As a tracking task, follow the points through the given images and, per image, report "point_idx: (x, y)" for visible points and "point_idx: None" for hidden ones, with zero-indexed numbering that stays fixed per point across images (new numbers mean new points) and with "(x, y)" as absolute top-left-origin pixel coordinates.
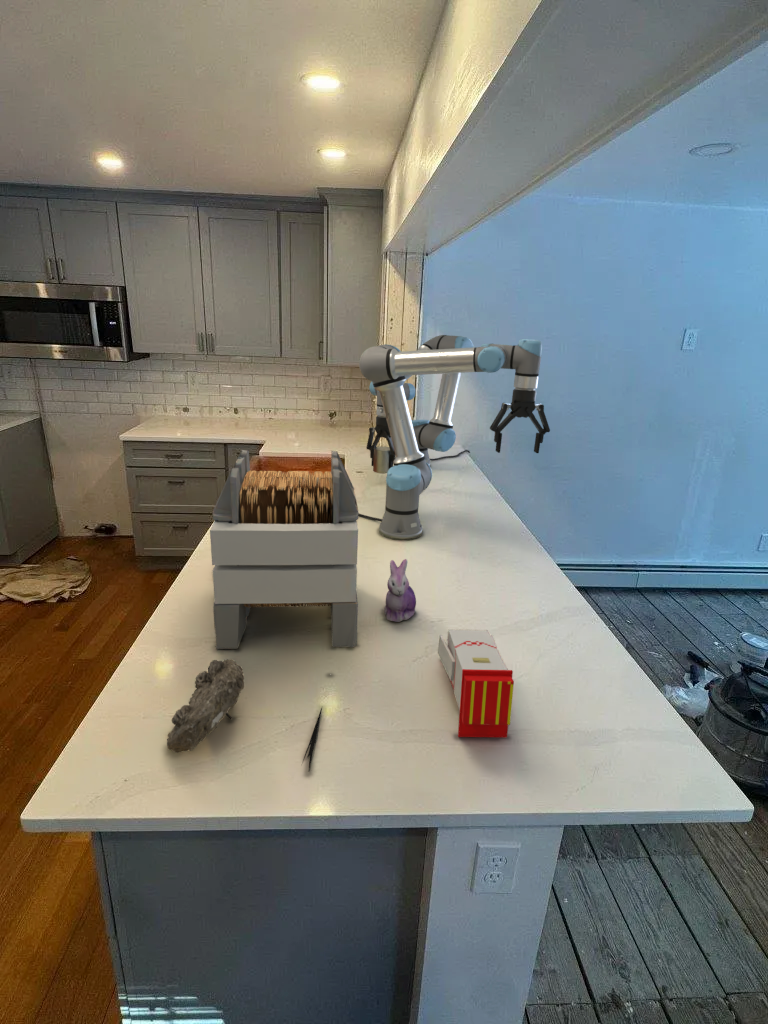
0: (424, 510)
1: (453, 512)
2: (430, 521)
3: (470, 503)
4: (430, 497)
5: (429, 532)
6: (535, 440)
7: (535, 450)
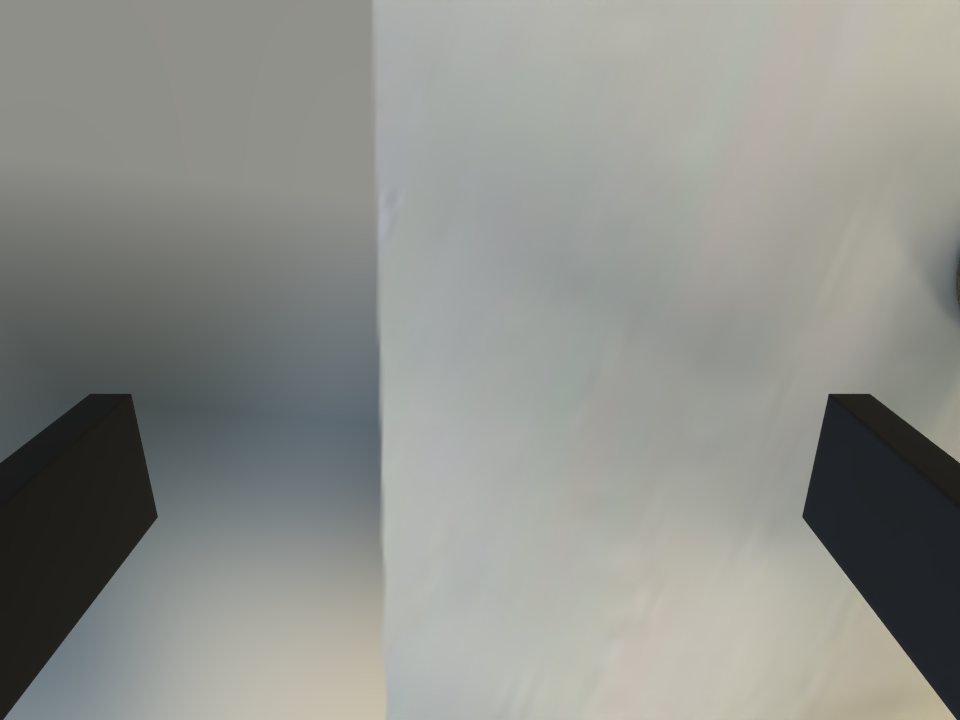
0: (806, 550)
1: (664, 525)
2: None
3: (530, 636)
4: (706, 705)
5: (913, 251)
6: (33, 659)
7: (127, 470)
